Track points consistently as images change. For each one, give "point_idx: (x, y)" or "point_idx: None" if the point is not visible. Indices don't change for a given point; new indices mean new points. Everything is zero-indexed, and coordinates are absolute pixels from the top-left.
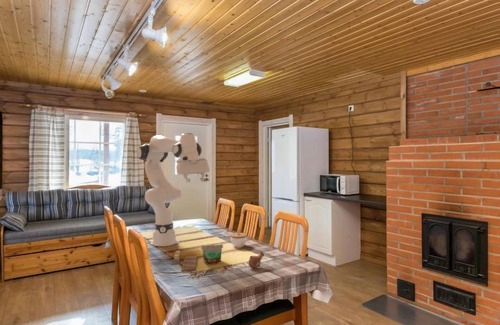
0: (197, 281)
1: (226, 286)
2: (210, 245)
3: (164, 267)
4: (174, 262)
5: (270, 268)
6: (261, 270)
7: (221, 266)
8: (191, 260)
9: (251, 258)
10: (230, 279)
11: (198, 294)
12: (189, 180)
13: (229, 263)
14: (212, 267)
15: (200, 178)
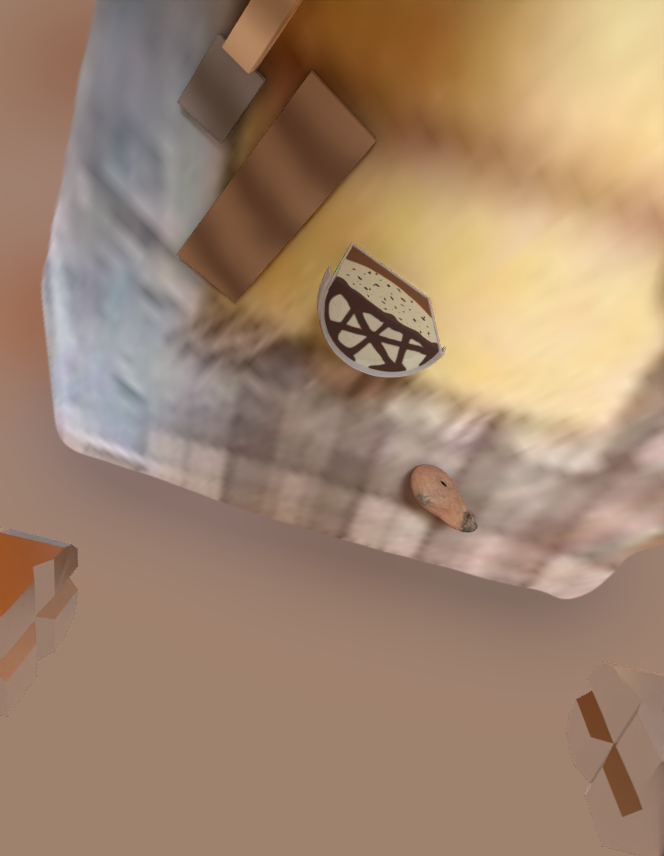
0: (180, 389)
1: (234, 482)
2: (373, 315)
3: (128, 109)
4: (200, 111)
5: None
6: None
7: None
8: (298, 180)
9: (417, 500)
10: (283, 462)
11: (131, 455)
12: (36, 648)
13: None
14: None
15: (638, 759)
